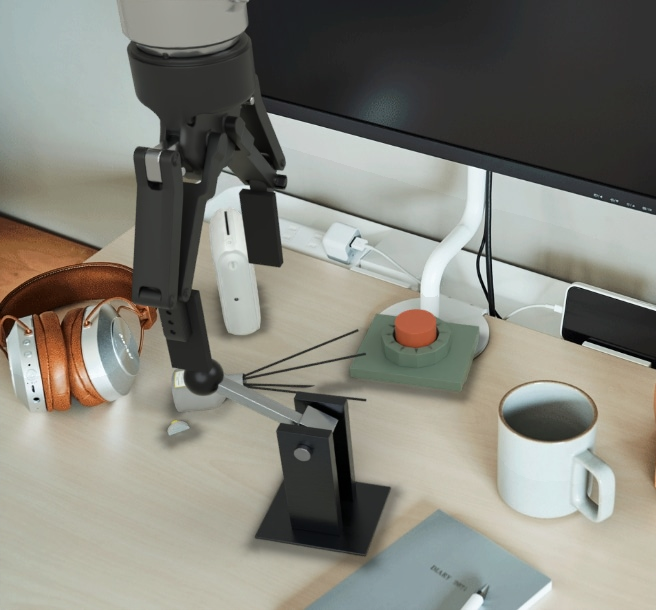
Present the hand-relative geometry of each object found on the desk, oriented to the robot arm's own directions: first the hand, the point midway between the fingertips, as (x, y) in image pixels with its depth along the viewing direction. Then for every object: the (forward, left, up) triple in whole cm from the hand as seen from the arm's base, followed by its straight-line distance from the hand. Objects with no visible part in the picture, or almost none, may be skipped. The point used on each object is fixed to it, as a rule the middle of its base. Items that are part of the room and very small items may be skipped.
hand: (232, 311), depth 70 cm
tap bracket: (+5, +1, -23) cm, 23 cm away
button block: (+8, +24, -23) cm, 34 cm away
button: (+8, +24, -19) cm, 32 cm away
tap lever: (0, +1, -11) cm, 11 cm away
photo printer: (-15, +29, -23) cm, 40 cm away
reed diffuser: (-5, +15, -24) cm, 28 cm away
